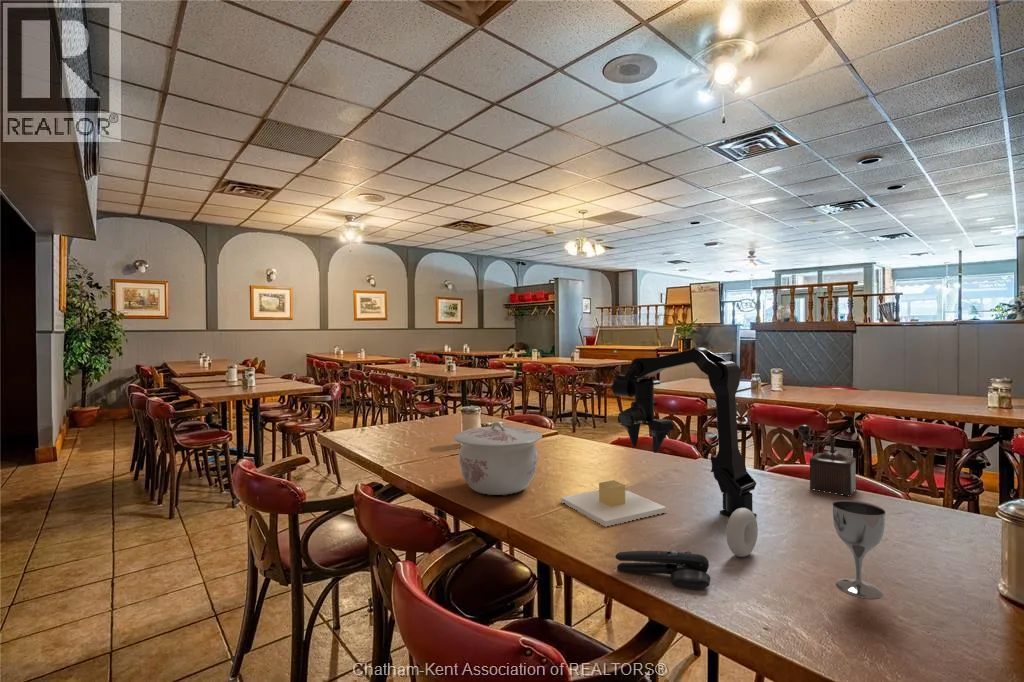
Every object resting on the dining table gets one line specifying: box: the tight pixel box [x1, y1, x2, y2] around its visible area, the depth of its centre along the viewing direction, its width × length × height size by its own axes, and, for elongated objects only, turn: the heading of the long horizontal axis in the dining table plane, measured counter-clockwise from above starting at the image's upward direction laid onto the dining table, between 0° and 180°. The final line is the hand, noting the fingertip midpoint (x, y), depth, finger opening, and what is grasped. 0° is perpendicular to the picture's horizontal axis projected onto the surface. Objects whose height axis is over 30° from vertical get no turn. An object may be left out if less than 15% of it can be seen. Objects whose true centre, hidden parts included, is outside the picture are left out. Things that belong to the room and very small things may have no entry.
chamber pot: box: [453, 421, 543, 496], centre depth 150 cm, size 28×28×21 cm
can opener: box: [615, 549, 711, 590], centre depth 94 cm, size 18×7×6 cm, turn 67°
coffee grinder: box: [797, 424, 857, 497], centre depth 147 cm, size 16×11×18 cm
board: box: [560, 489, 667, 528], centre depth 132 cm, size 20×20×2 cm
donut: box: [725, 508, 759, 558], centre depth 103 cm, size 10×4×10 cm, turn 131°
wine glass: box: [831, 499, 887, 600], centre depth 89 cm, size 8×8×15 cm
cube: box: [598, 479, 626, 506], centre depth 132 cm, size 5×5×5 cm
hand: (644, 449), depth 148 cm, fingers open, 9 cm apart
